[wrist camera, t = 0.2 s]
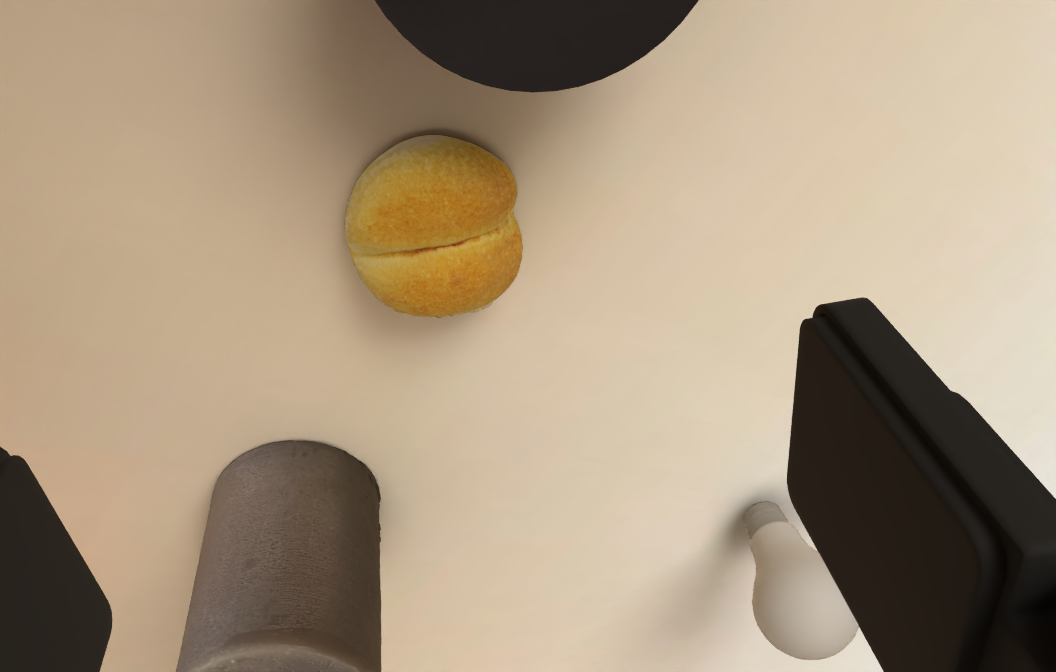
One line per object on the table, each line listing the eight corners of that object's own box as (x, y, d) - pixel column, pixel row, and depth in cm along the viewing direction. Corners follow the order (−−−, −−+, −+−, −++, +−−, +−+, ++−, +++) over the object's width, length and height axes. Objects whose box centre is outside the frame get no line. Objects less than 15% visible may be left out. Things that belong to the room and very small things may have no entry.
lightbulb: (696, 530, 58) (754, 675, 50) (742, 464, 56) (813, 606, 47) (771, 545, 60) (840, 687, 52) (820, 483, 58) (902, 622, 49)
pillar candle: (397, 451, 51) (405, 681, 39) (360, 565, 56) (357, 800, 44) (222, 426, 48) (171, 665, 36) (200, 548, 53) (148, 795, 41)
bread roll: (505, 116, 40) (517, 150, 37) (524, 281, 45) (536, 324, 42) (325, 142, 40) (321, 179, 36) (365, 306, 45) (365, 351, 42)
